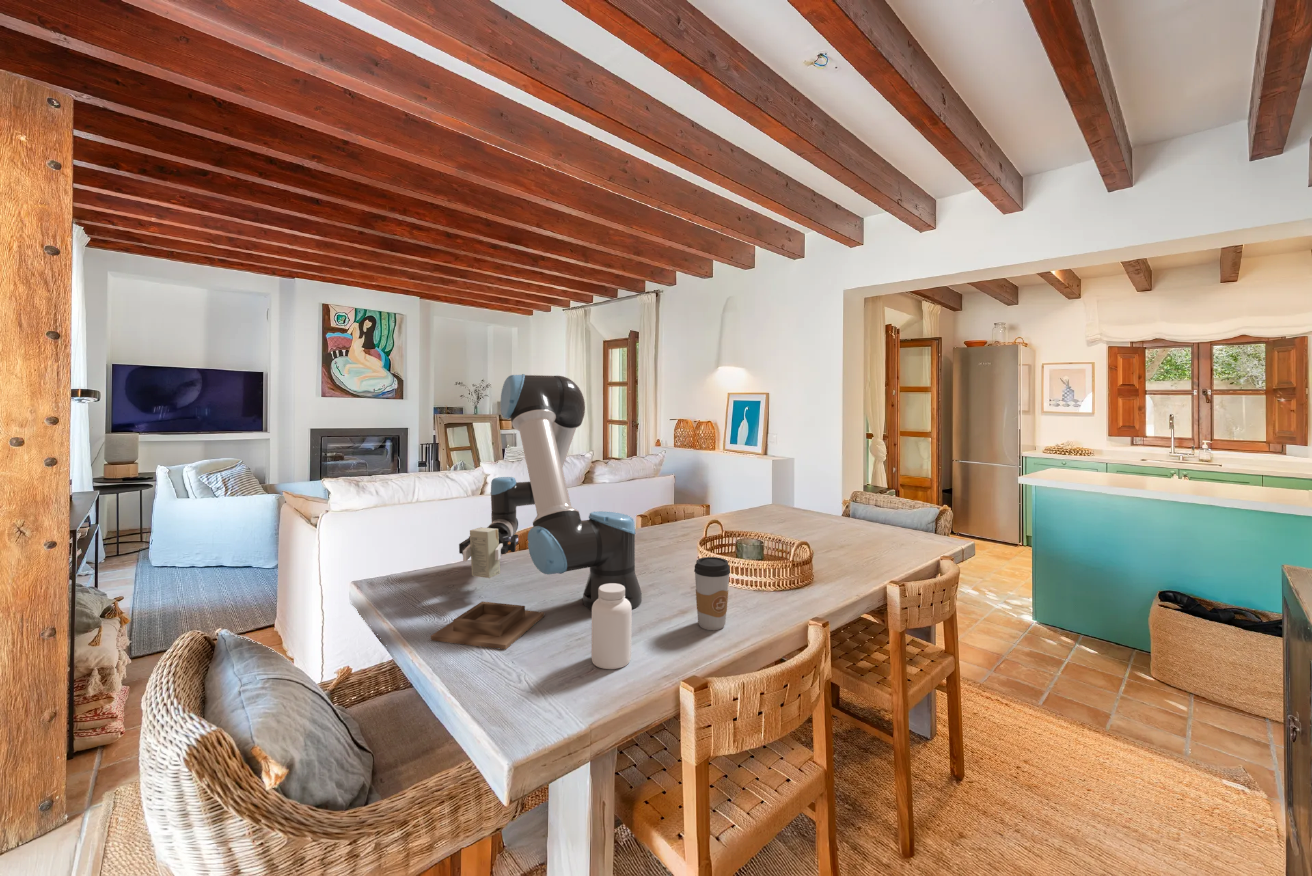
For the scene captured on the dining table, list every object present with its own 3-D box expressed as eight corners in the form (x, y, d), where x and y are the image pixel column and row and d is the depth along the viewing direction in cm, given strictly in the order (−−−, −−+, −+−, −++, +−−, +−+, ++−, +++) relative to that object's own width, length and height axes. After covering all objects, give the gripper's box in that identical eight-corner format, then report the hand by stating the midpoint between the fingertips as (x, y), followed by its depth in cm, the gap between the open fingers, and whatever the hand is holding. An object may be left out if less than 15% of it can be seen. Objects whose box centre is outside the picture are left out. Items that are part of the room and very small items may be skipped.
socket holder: (544, 616, 128) (543, 602, 128) (505, 649, 111) (505, 633, 111) (477, 609, 133) (477, 595, 132) (430, 640, 115) (430, 624, 115)
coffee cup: (706, 635, 118) (706, 569, 117) (687, 621, 125) (687, 559, 124) (737, 628, 122) (737, 563, 121) (716, 615, 129) (717, 554, 128)
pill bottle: (626, 672, 101) (625, 595, 100) (586, 668, 103) (585, 592, 102) (635, 653, 109) (635, 582, 108) (598, 649, 111) (598, 579, 110)
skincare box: (500, 574, 140) (499, 528, 140) (489, 579, 136) (488, 532, 136) (482, 571, 143) (481, 526, 142) (470, 575, 139) (469, 529, 138)
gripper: (533, 545, 158) (521, 568, 136) (463, 548, 156) (440, 571, 133) (532, 521, 158) (521, 539, 135) (462, 522, 156) (439, 542, 133)
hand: (480, 555), depth 134 cm, fingers closed on skincare box, 7 cm apart
